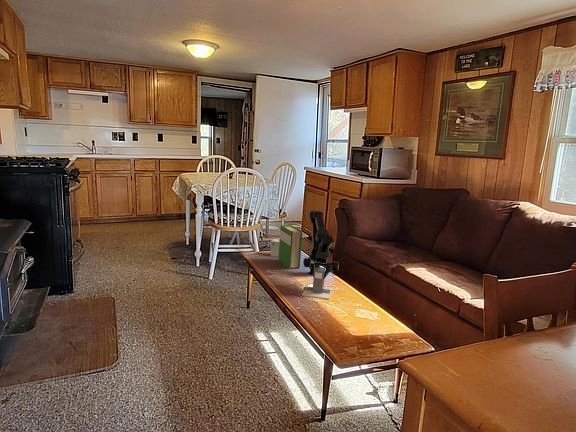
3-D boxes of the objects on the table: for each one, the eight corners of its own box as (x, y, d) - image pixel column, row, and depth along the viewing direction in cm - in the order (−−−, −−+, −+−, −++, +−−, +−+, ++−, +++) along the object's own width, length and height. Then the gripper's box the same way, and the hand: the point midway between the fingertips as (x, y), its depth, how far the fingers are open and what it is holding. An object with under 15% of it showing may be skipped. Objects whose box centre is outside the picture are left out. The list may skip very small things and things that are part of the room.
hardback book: (299, 268, 244) (302, 231, 240) (288, 269, 241) (291, 231, 237) (288, 260, 260) (291, 225, 256) (278, 260, 257) (280, 225, 253)
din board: (307, 285, 216) (307, 284, 216) (332, 288, 213) (332, 287, 213) (302, 295, 200) (302, 294, 200) (329, 299, 198) (329, 298, 197)
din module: (314, 287, 210) (315, 266, 208) (323, 289, 209) (325, 267, 207) (312, 292, 204) (314, 270, 202) (321, 293, 203) (323, 271, 201)
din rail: (306, 288, 209) (306, 286, 209) (330, 292, 206) (330, 289, 206) (305, 290, 207) (305, 287, 207) (330, 293, 204) (330, 291, 204)
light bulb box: (286, 254, 272) (287, 239, 270) (285, 257, 266) (286, 242, 264) (271, 253, 273) (272, 238, 271) (270, 256, 267) (271, 240, 265)
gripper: (305, 243, 208) (299, 269, 199) (340, 247, 204) (336, 274, 195) (306, 253, 217) (301, 279, 208) (340, 257, 213) (336, 283, 205)
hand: (318, 278), depth 204 cm, fingers closed on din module, 5 cm apart
